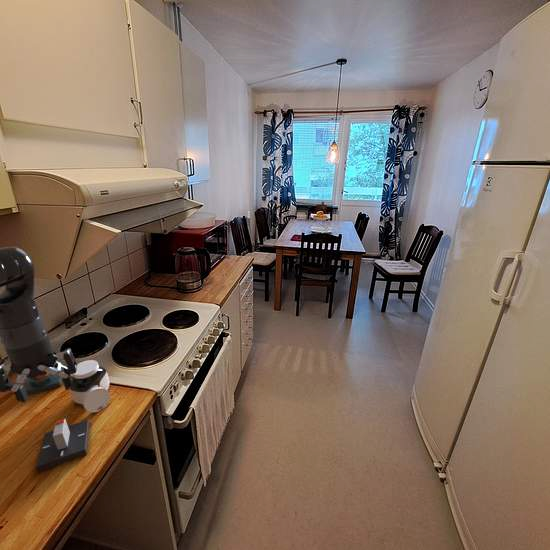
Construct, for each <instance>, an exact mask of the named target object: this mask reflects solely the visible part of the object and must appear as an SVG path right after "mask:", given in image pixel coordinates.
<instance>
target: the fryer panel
mask: <svg viewBox="0 0 550 550" xmlns="http://www.w3.org/2000/svg"><path fill="white" fill-rule="evenodd" d="M90 426H91V424H90V421H89V419H85V420H82V421H79V422H76V423H73V424H70V425H68V428H69V431H70V435H69V441H68V447H66V448H63V449H60V450H58V449H57V446H56V444H55V441H54V438H53V433H54V430H51V431H48V432H44V434H43V438H42V442H41V446H40V449H39V454H38V458H37V461H36V465H35V469H36V470H37V472H38V473H42V472H43V471H47V470H49V469H51V468H54V467H58V466H60V465H63V464H65V463H69V462H71V461H74V460H77V459H79V458H82V457H85V456H86V455H88V448H89V437H90V428H91V427H90Z"/></svg>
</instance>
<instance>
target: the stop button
mask: <svg viewBox="0 0 550 550" xmlns="http://www.w3.org/2000/svg"><path fill="white" fill-rule="evenodd" d="M48 374H49V373H47V374H46V375H41V376H37V377H35V379H37V380H38V379H42V378H44V377H46V376H47V375H48Z"/></svg>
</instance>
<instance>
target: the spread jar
mask: <svg viewBox="0 0 550 550" xmlns="http://www.w3.org/2000/svg"><path fill="white" fill-rule="evenodd" d="M71 378H72V386H71V387H70V389H69V393H70V396H71V399H72V400H73V402H74V403H76V404H78V405H82V406H83V408H84V409H85V410H86V411H88V412H89V413H98V412H100V411H102V410H103V409H105V408H106V407H107V406H108V405H109V402H110V400H111V399H110V398H111V395H110V392H109V388H110V378H109V375H108V371H107V369H106V368H104V367H103V366H100V365H99V363H98V361H97V360H94V359H89V360H84V361H81V362H79V363H77V370H76V373H74V374H71Z"/></svg>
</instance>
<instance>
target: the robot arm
mask: <svg viewBox="0 0 550 550" xmlns="http://www.w3.org/2000/svg"><path fill="white" fill-rule="evenodd" d="M3 287H4V289H3V290H2V292H0V343H1V345H2V346H3V348H4V351H5V353H6V355H7V357H8V360H9V362H10V364H4V363H0V393H6V392H8V391H9V392H10V391H11V392H12V393H13V394H14V396H15V399H16V400H17V401H18V402H21V403H22V404H23V403H27V401H28V398H29V395H27V392H26V390H25V388H24V383H25V381H26V379H27V378H30V379H31V378H34V377H37V376H41V375H46V374H47V373H50V374H52V375H54V376H56V375H58V376H60V377H62V384H63V386H64V390H65V391H68V390H69V389H70V387H71V386H72V374H74V373H76V370H77V364H78V363H77V360H76V359H75V356H74V354H73V351H72V349H71V348H69V347H68V348H67V347H66V348H65V349H64V351H61V352H56V351H55V350H54V347H53V345H52V341H51V340H50V337H49V334H48V331H47V328H46V324H45V322H44V320H43V319H42V317H41V315H40V312H39V309H38V306H37V303H36V300H35V267H34V263H33V261H32V258H31V257H30V256H29V254H28V253H27V252H26V251H24V250H23V249H22V248H19V247H17V246H5V247H0V288H3ZM58 359H60V360H61V361H62V362H65V364H66V366H65V365H63V364H62V363H61V362H59V361H58ZM10 371H11V372H12V373H15V374H18V375H17V377H16V379H15V380H14V381H10V377H9V374H10V373H9V372H10ZM69 391H70V390H69Z"/></svg>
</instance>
